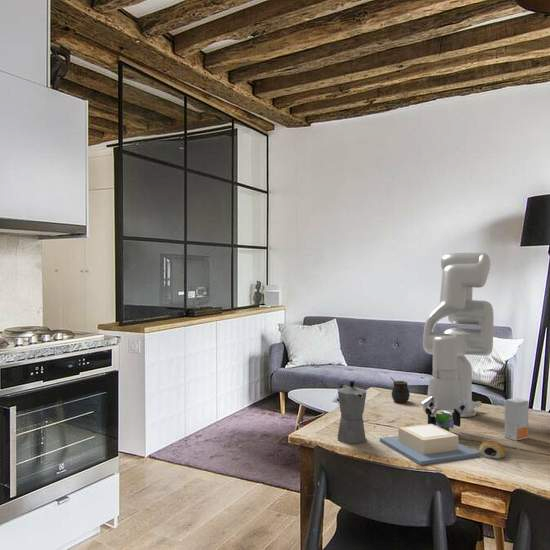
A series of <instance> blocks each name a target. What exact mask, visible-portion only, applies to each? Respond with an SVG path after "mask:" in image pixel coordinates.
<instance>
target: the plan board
mask: <svg viewBox="0 0 550 550" xmlns="http://www.w3.org/2000/svg"><path fill="white" fill-rule="evenodd" d="M449 431H450V430H449ZM449 431H446V430H444V429H442V428H440V427H437V426H435V425H433V424H428V423H426V424H418V425H417V424H416V425H411V426H410V425H409V426H408V425H407V426H402V427H398V435H393V436H387V437H386V436H385V437H380V438H379V442H380V443H382V444H384V445H385V446H387V447H389V448H391V449H392V450H394V451H396V452H397V453H398V454H400V455H403V456H404V457H405V458H407V459H409V460H410V461H411V462H412V461H413V462H414V463H416V464H417V465H418V466H419V465H420V466H424V465H431V464H439V463H444V462H451V461H458V460H463V459H465V460H466V459H472V458H477V457H478V458H480V457H481V456H480V453H479V452H478V451H477V450H474V449H473V448H470V447H468V446H466V445H464V444H462V443H460V442H459V435H458V434H455V433H453V432H451V431H450V432H449Z"/></svg>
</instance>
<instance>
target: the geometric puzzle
mask: <svg viewBox="0 0 550 550" xmlns="http://www.w3.org/2000/svg"><path fill="white" fill-rule="evenodd" d="M435 417H436V426H437V427H440V428H442V429H444V430H446V431H449V432H451V430H452V429H454V428H455V427H454V426H455V425H454V420H453V419H452V416H450V415H449V414H447V413H445V412H443V413H436V414H435Z"/></svg>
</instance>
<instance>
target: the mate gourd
mask: <svg viewBox="0 0 550 550" xmlns="http://www.w3.org/2000/svg"><path fill="white" fill-rule="evenodd" d="M390 379H391V380H392V381H393V386H392V387H393V388H392V390H391V397H392V400H393V401H394V402H395V403H399V404H400V403H401V404H405V403H407V402H408V401H409V399H410V390H409V388H408V381H405V380H395V379H394V378H392V377H390Z"/></svg>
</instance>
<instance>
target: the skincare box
mask: <svg viewBox="0 0 550 550" xmlns="http://www.w3.org/2000/svg"><path fill="white" fill-rule="evenodd" d="M504 438H507V439H510V440H513V441H515V442H516V441H521V440H525V439H528V438H529V400H527V399H524V398H523V399H522V398H519V397H514V398H508V399H505V400H504Z"/></svg>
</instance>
